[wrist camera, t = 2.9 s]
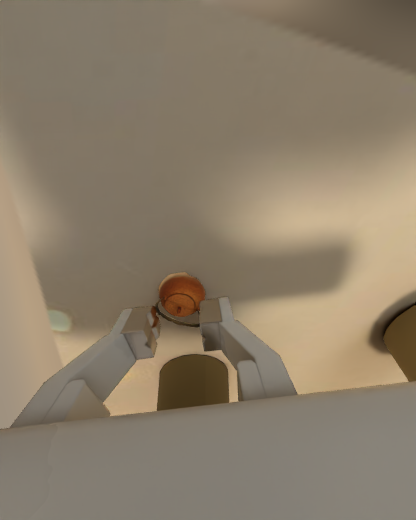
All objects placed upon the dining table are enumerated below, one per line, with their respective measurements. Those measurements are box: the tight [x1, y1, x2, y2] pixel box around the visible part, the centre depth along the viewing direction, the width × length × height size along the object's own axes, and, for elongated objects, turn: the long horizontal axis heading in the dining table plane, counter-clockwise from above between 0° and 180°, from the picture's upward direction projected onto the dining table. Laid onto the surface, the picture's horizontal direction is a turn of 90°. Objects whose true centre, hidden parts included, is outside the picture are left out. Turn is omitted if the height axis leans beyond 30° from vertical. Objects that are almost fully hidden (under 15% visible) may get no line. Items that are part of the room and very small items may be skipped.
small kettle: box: [155, 272, 206, 327], centre depth 9 cm, size 3×3×3 cm
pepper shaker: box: [157, 355, 229, 411], centre depth 9 cm, size 6×6×11 cm
